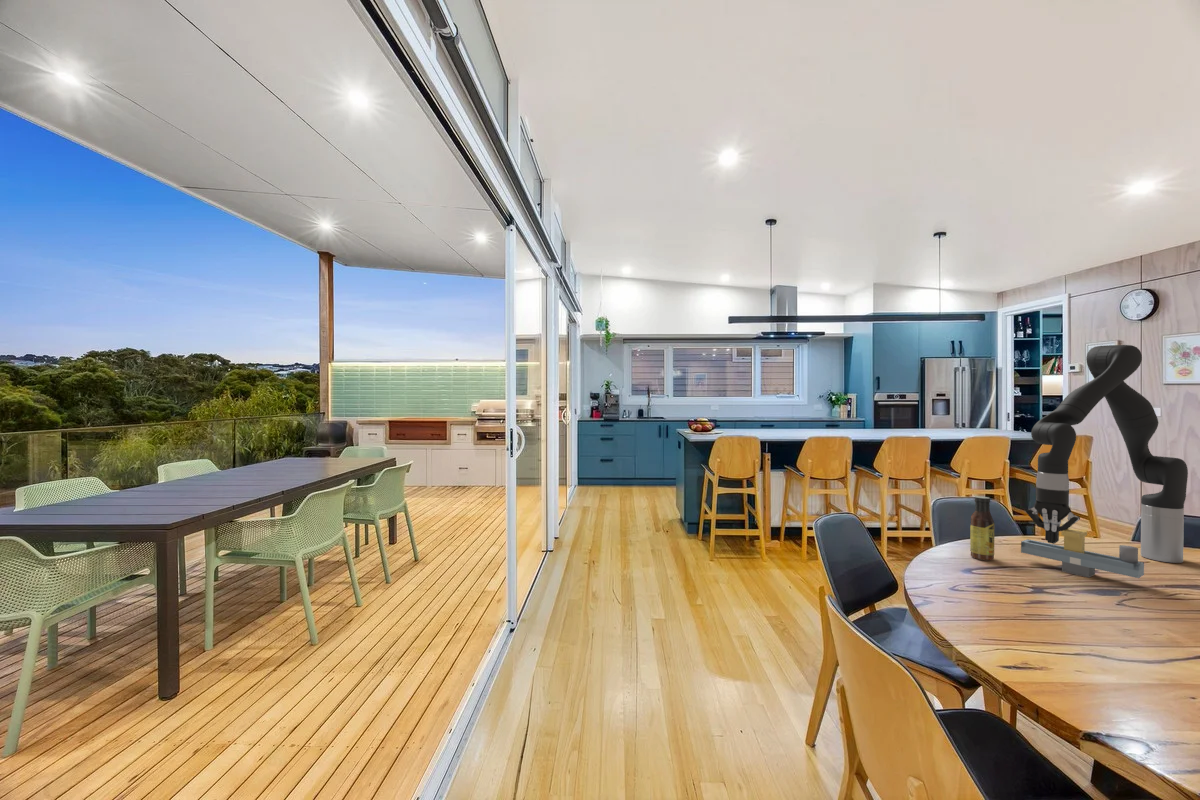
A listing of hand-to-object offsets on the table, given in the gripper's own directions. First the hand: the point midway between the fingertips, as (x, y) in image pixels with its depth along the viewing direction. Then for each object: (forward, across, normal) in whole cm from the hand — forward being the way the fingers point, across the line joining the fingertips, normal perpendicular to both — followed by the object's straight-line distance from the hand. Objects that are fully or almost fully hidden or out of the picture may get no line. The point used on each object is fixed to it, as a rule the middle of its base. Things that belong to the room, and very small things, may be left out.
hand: (1051, 542), depth 154 cm
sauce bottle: (+8, +15, +9) cm, 19 cm away
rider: (+2, -5, 0) cm, 6 cm away
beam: (+7, -6, 0) cm, 10 cm away
